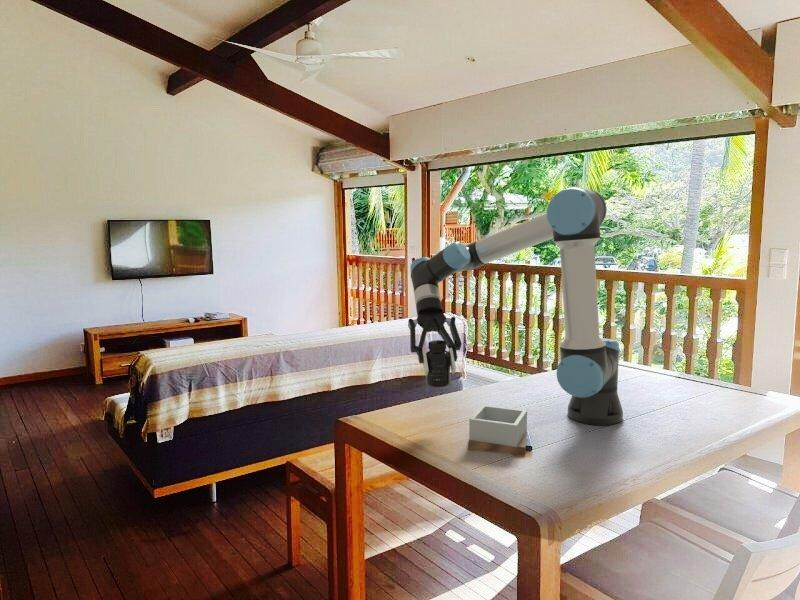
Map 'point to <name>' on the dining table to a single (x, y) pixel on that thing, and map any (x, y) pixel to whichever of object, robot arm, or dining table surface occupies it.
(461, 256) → the robot arm
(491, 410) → the grey square open box
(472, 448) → the walnut plinth
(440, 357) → the supplement bottle
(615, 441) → the dining table surface
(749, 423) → the dining table surface
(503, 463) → the dining table surface
